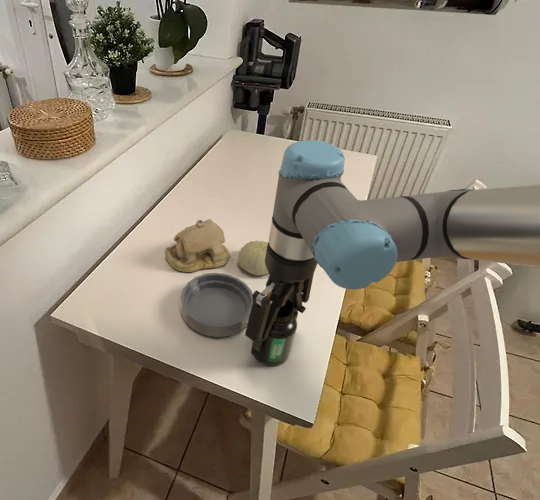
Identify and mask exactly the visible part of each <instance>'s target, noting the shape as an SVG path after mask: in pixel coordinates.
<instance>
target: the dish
mask: <svg viewBox="0 0 540 500" xmlns="http://www.w3.org/2000/svg"><path fill="white" fill-rule="evenodd" d="M253 293H254V292H253V291H252V289H251V288H250V287H249V286H248V284H247V283H246V282H244V281H243V280H242V279H240V278H239V277H236V276H234V275H231V274H227V273H221V272H209V273H203V274H201V275H198V276H194V278H192V279H191V280H189V281H188V282H187V283H186V285H185V286H184V287H183V288H182V291H181V295H180V311H181V316H182V318H183V319H184V322H185V323H186V324H187V326H189V327H190V328H191V329H192V330H194V331H195V332H197V333H199V334H201V335H203V336H207V337H213V338H214V337H215V338H222V337H223V338H224V337H230V336H234V335H236V334H238V333H240V332H242V331H243V330H244V329H245V328H247V324H248V320H249V316H250V312H251V308H252V304H253V298H252V295H253Z"/></svg>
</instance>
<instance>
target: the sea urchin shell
mask: <svg viewBox="0 0 540 500" xmlns="http://www.w3.org/2000/svg"><path fill="white" fill-rule="evenodd" d="M268 242H269V241H264V240H251V241H249V242H247V243H245V244H244V245H243V246H242V247H241V249H240V251H239V252H238V256H237V263H238V266H240V267H241V268H242V270H244V271H245V272H247V273H248V274H252V275H254V276H259V277H260V276H264V275H268V274H269V272H268V270H267V268H266V265H265V256H266V250H267V244H268Z"/></svg>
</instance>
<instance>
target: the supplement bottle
mask: <svg viewBox="0 0 540 500" xmlns="http://www.w3.org/2000/svg"><path fill="white" fill-rule="evenodd" d="M280 300H281V299H280ZM294 312H295V307H294V305H293V303H292V302H291V301H290V300H288V299H287V301H286V303H285V305H284V306H282V307H280V309H279V312H278V314H277V316H276V318H275V321H274V323H273V325H272V328H271V330H270V332H269V334H268V335H270V336H271V338H270V342H269V347H268V351H267V356H266V360H265V361H264V362H262V361H260V360H259V359H258V358H257V357H255V359H256V360H257V361H258V362H260V363H261V364H263V365H265V366H269V367H270V366H271V367H277V366H281V365H282V364H285V363H286V362H287V361H288V359H289V357H290V354H291V352H292V351H291V350H292V347H293V344H294V340H295V336H296V332H297V330H298V329H297V328H298V321H297V319H296V318H295V316H294Z"/></svg>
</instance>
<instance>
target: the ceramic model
mask: <svg viewBox="0 0 540 500" xmlns="http://www.w3.org/2000/svg"><path fill="white" fill-rule="evenodd" d="M173 242H175V243H174V244H171V245H170V246H166V247H165V249H164V255H165V258H166V260H167V262H168V264H169V265H170V267H172V268H173V269H174V270H176V271H179V272H184V273H185V272H186V273H192V272H196V271H199V270H204V269H212V268H219V267H223V266H225V265H226V264H227V263H228V261H229V259H230V257H231V254H230V250H229V249H228V248H227V247H226V246H225V245H224V243H226V238H225V234H224V230H223V228H221V226H220V225H218V224H217V223H216V222H214V221H213V220H212V219H211V218H208V219H206V220H204V221H203V220H201V219H198V220H197V221H196V222H195V224H193V225H190V226H187V227H185V228H184V229H182V230H181V231H179V232H177V233H176V234H175V235H174V237H173Z"/></svg>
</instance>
